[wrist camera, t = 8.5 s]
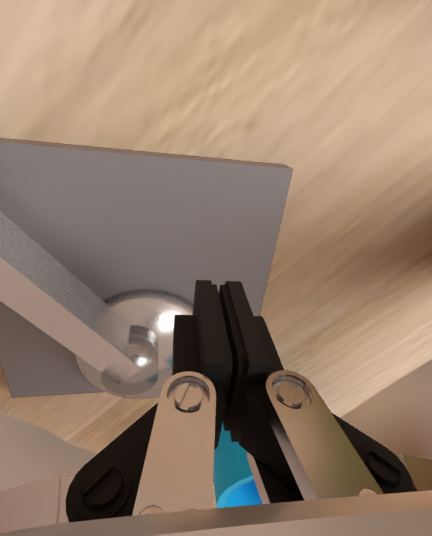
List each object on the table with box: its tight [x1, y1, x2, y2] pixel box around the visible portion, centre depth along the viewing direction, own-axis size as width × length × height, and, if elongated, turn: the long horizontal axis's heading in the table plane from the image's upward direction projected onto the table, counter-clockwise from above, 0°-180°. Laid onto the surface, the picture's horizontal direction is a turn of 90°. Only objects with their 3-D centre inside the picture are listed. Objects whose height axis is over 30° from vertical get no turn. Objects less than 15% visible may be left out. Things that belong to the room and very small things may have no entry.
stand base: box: [0, 138, 293, 398], centre depth 22 cm, size 20×20×2 cm
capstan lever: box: [0, 211, 193, 399], centre depth 19 cm, size 10×21×5 cm, turn 33°
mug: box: [213, 423, 262, 508], centre depth 29 cm, size 12×8×8 cm
